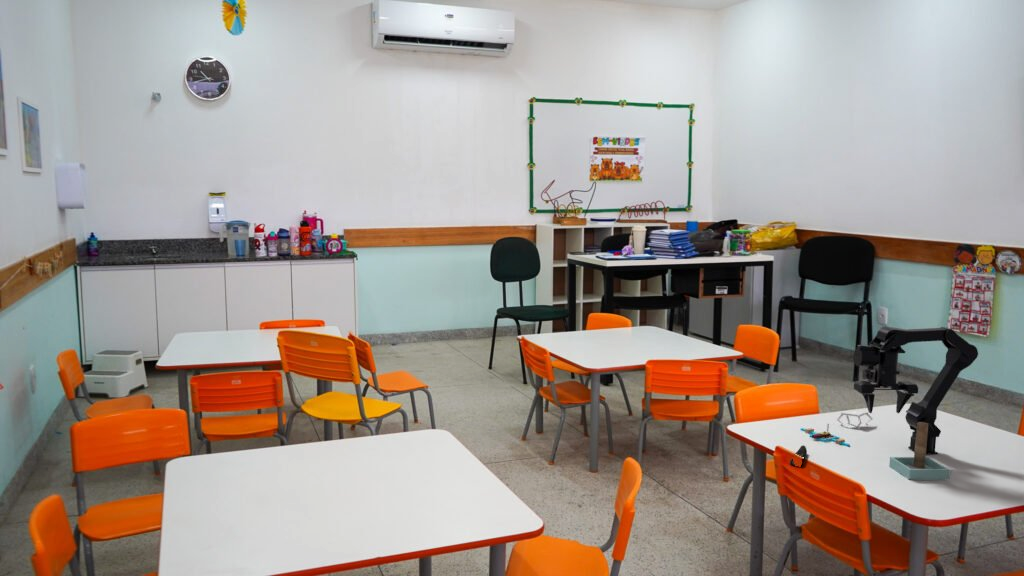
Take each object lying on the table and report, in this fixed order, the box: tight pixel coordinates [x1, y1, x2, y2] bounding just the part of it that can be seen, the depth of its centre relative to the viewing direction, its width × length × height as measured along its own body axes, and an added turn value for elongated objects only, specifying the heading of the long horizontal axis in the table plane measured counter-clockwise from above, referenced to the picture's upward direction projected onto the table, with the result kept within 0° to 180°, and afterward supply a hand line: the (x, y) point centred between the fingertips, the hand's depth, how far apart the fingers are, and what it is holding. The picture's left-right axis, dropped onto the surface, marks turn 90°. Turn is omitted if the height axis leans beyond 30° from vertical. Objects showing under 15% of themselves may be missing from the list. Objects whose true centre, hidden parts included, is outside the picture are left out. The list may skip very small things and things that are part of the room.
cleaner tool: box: [908, 422, 930, 469], centre depth 226 cm, size 6×6×15 cm
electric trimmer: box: [789, 444, 808, 468], centre depth 238 cm, size 4×15×3 cm, turn 150°
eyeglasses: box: [836, 410, 874, 430], centre depth 274 cm, size 12×8×5 cm
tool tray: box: [889, 456, 951, 481], centre depth 227 cm, size 12×11×3 cm
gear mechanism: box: [800, 423, 851, 447], centre depth 259 cm, size 20×5×9 cm
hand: (883, 412), depth 245 cm, fingers open, 9 cm apart
